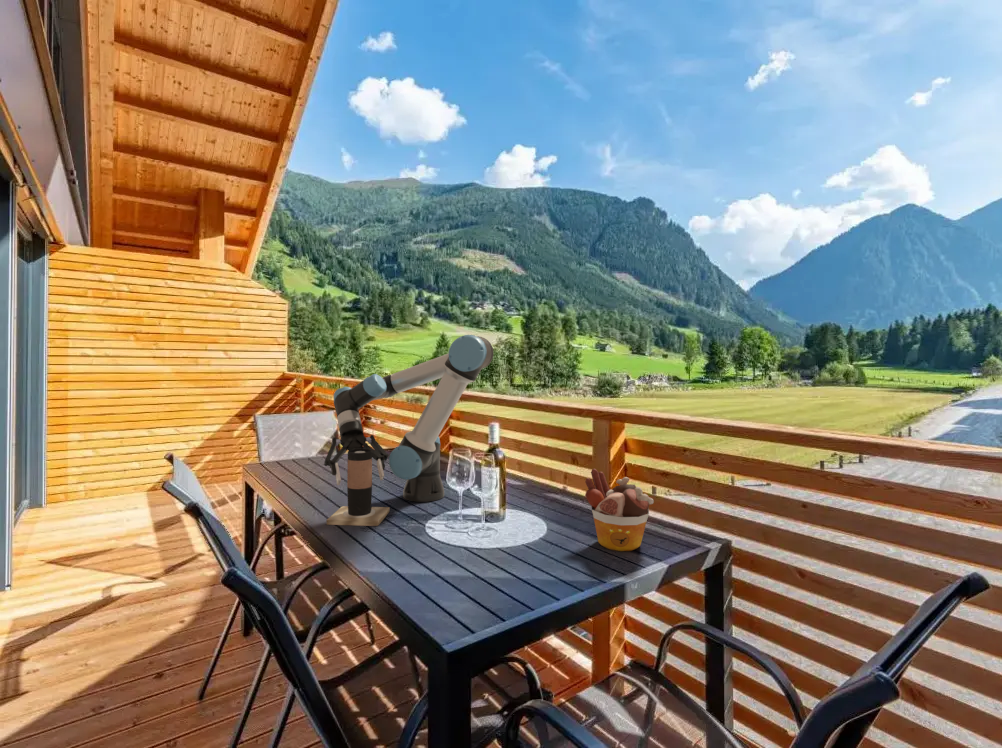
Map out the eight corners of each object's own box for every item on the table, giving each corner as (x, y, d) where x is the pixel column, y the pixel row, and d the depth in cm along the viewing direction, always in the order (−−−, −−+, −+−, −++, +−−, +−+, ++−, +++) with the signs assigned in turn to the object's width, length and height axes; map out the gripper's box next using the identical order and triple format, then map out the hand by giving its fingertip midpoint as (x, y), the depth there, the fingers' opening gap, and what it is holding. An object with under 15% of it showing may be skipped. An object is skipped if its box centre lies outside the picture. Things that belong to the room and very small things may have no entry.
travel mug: (341, 513, 162) (342, 451, 161) (359, 507, 168) (359, 447, 167) (360, 517, 158) (360, 454, 157) (376, 511, 165) (377, 450, 164)
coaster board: (389, 511, 170) (389, 506, 170) (378, 525, 156) (378, 520, 156) (342, 510, 170) (342, 505, 170) (326, 524, 156) (326, 519, 156)
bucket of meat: (664, 547, 141) (666, 476, 141) (629, 562, 131) (631, 486, 130) (606, 528, 157) (608, 464, 156) (571, 540, 146) (572, 471, 145)
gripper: (384, 431, 182) (396, 482, 169) (310, 435, 170) (318, 491, 157) (388, 418, 177) (402, 469, 164) (313, 422, 165) (321, 478, 152)
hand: (361, 480), depth 161 cm, fingers open, 13 cm apart
